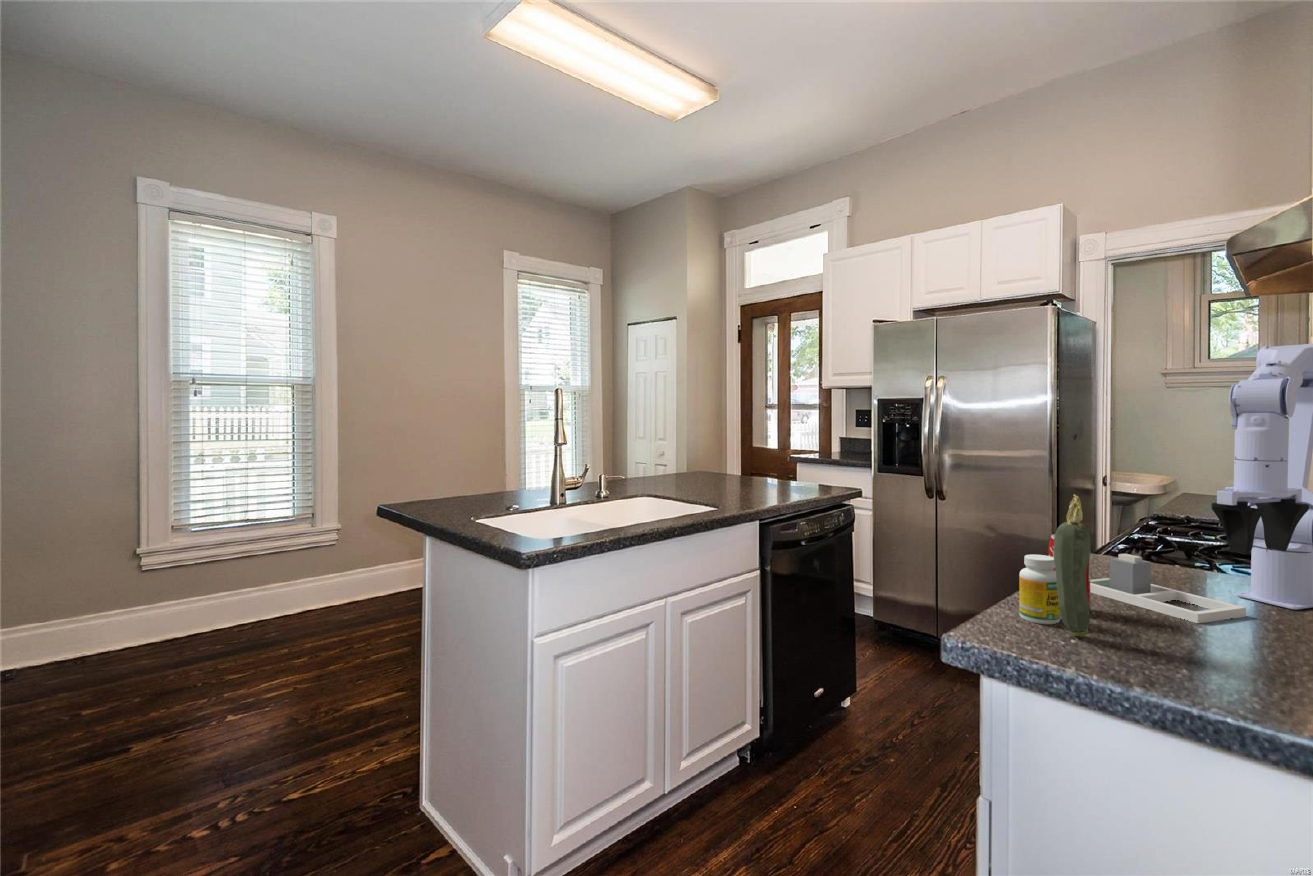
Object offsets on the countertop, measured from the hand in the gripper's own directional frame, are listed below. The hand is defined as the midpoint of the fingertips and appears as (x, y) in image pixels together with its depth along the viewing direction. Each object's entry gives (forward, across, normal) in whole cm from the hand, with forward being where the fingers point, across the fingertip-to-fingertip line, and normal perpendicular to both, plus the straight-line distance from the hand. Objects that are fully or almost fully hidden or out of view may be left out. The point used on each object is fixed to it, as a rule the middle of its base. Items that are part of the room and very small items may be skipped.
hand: (1258, 551), depth 91 cm
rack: (+10, +5, -11) cm, 16 cm away
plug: (+10, +5, -15) cm, 19 cm away
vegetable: (+11, +32, -3) cm, 34 cm away
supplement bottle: (+11, +30, -10) cm, 33 cm away
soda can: (+11, +22, -12) cm, 27 cm away
